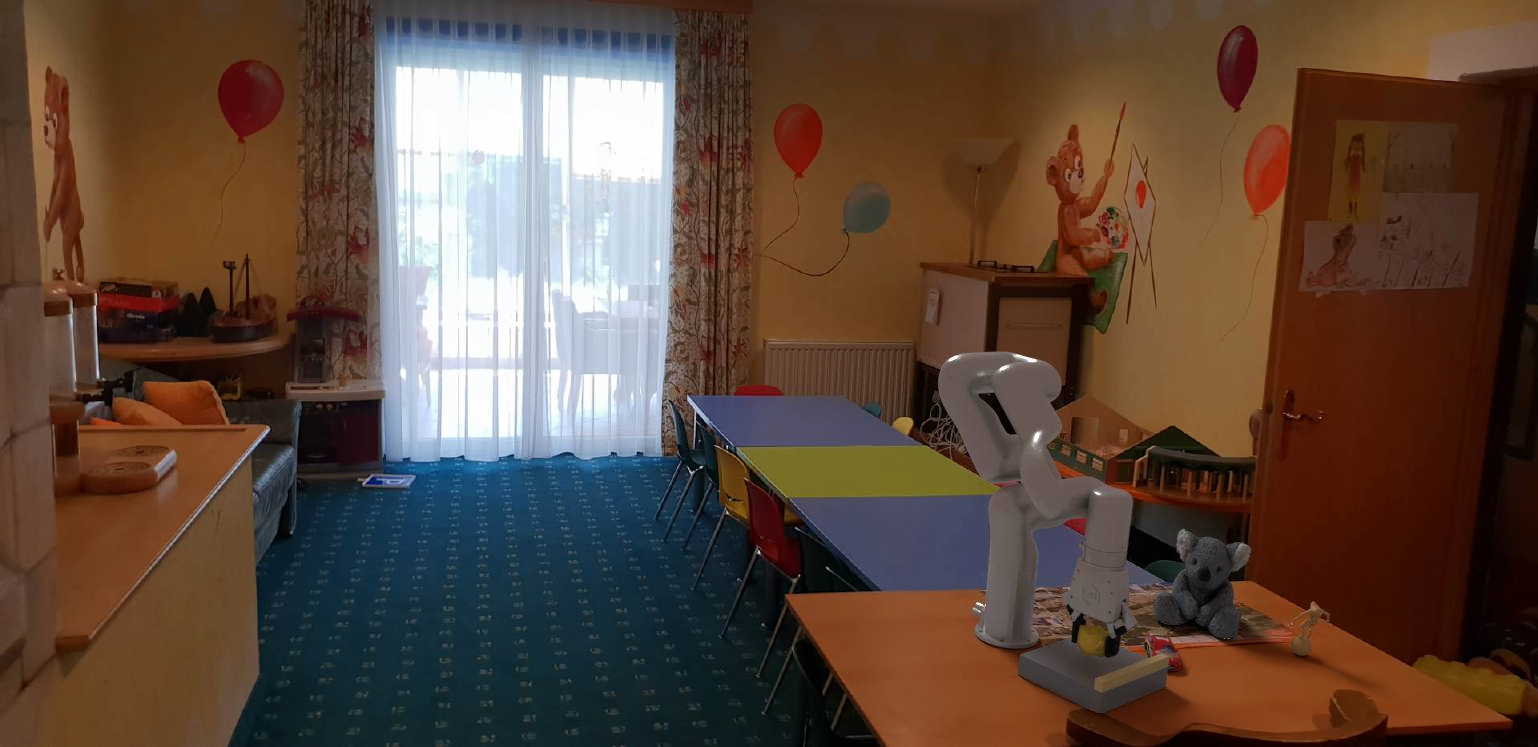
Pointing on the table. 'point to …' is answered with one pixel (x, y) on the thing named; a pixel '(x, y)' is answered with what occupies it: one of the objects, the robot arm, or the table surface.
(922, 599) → the table surface
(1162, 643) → the race car
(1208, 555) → the koala plush
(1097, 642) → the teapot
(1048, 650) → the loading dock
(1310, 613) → the figurine
